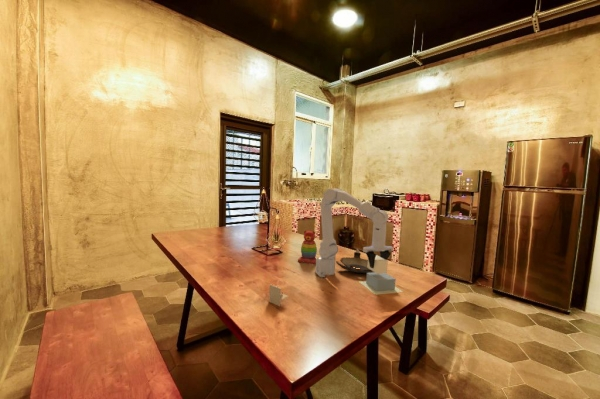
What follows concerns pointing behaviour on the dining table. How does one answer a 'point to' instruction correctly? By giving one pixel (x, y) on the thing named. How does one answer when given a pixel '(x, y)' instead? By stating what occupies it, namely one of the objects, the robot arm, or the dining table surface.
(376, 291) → the baseplate
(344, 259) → the dark shallow pan
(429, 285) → the dining table surface
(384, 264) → the cream brick
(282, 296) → the grey tabbed plate
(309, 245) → the stacking bear
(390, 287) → the blue base brick
